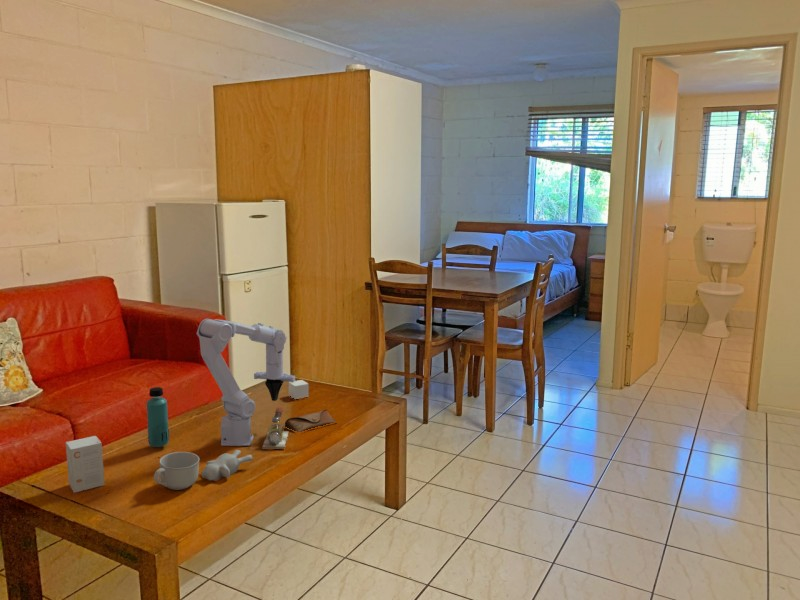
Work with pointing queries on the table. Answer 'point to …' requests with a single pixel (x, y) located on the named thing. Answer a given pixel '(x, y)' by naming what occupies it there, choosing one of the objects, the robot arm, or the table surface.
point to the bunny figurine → (224, 465)
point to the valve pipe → (275, 433)
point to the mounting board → (279, 445)
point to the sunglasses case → (309, 421)
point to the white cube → (298, 389)
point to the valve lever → (277, 415)
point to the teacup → (178, 470)
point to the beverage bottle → (157, 418)
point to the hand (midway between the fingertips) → (274, 399)
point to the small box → (85, 463)
